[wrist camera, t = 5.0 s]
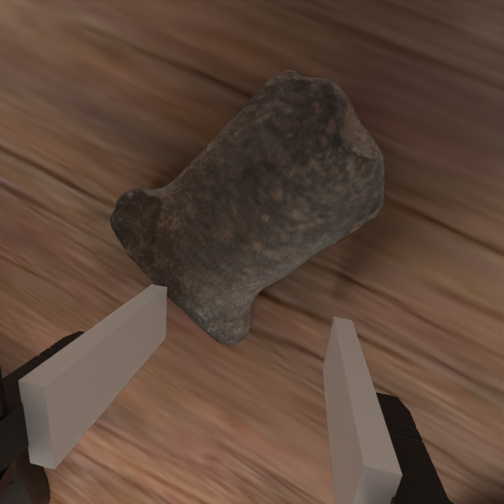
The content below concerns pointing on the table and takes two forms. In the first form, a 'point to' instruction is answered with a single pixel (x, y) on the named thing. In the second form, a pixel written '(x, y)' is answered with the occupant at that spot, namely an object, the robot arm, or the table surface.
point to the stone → (256, 202)
